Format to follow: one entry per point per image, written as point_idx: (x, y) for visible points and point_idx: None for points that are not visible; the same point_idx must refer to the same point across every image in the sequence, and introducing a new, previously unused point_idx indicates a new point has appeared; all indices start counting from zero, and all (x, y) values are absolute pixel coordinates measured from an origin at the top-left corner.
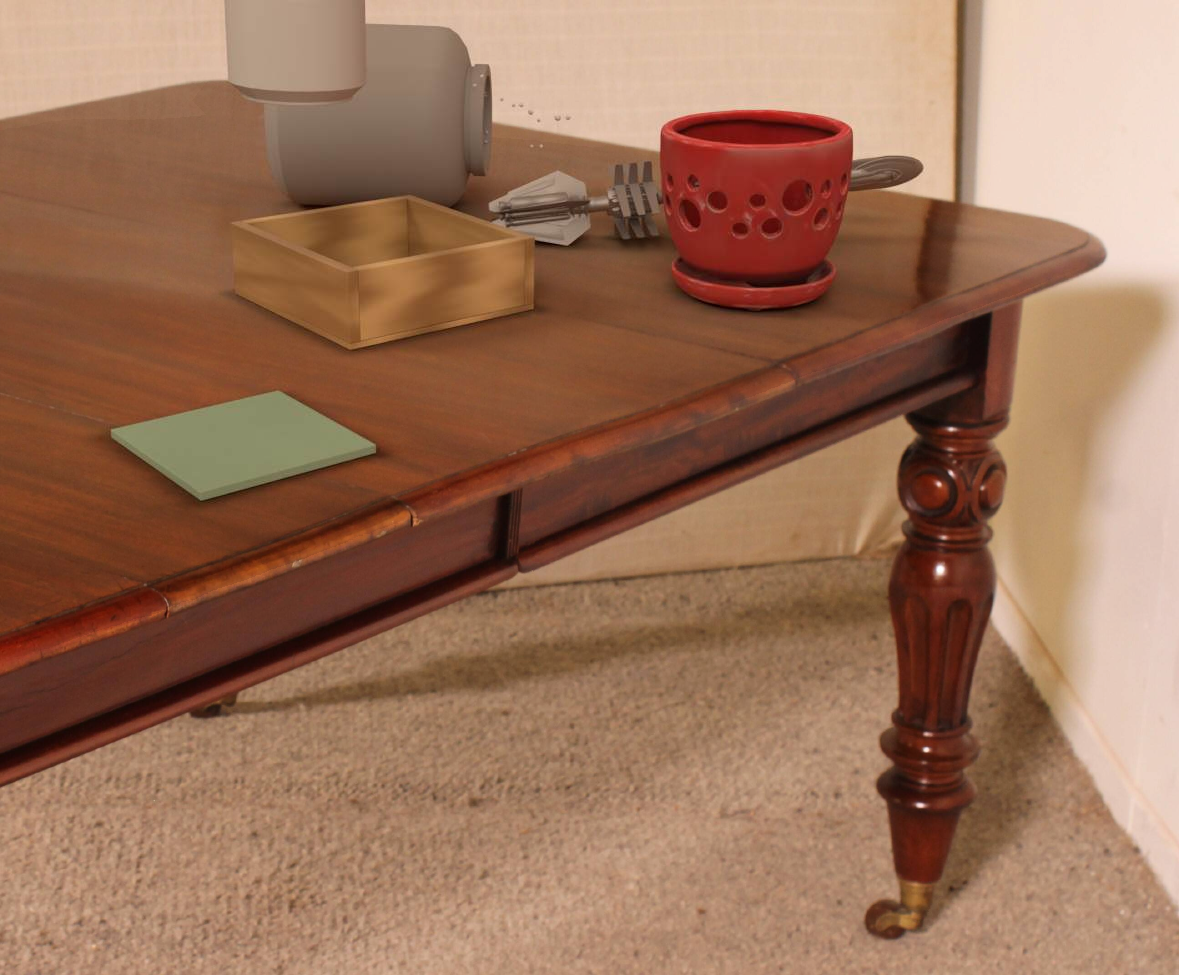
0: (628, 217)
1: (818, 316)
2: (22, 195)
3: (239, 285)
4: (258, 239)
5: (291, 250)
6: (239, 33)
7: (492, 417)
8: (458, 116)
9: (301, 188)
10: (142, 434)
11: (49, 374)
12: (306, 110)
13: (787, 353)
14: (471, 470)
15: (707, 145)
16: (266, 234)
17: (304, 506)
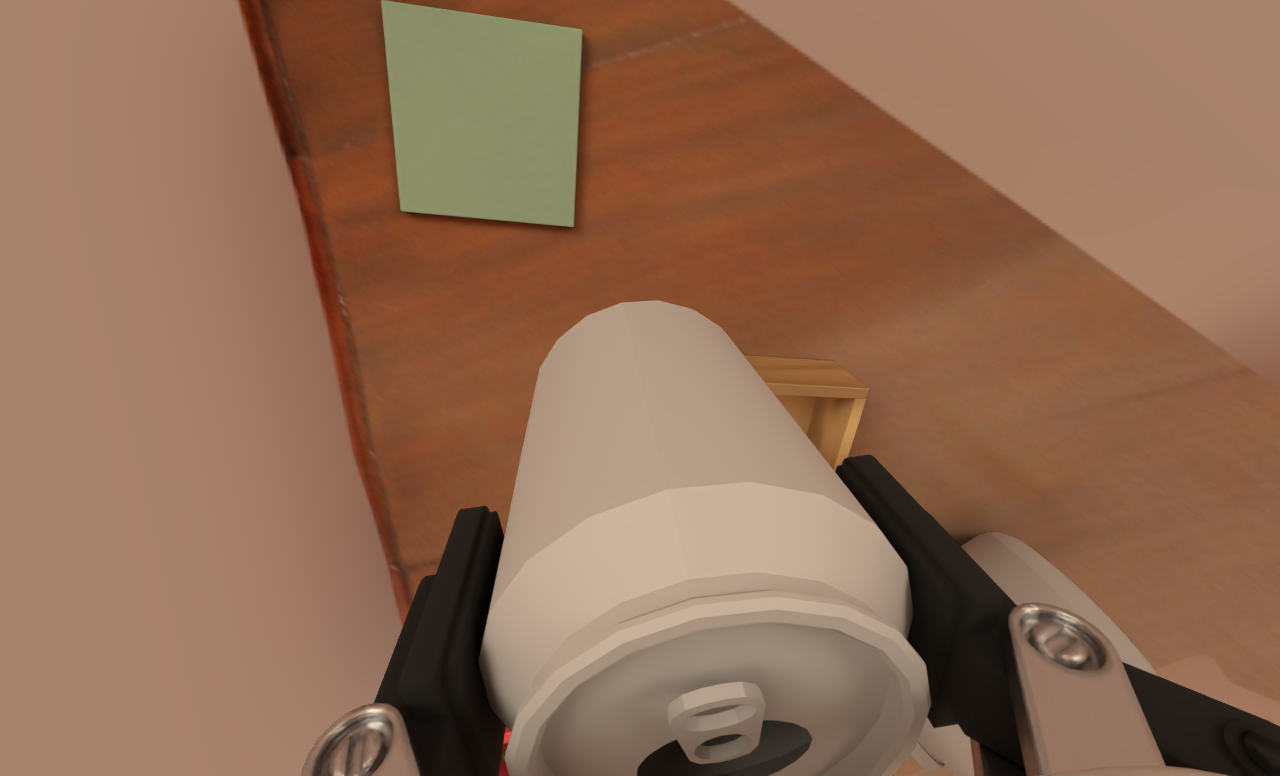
0: None
1: None
2: (1237, 376)
3: (829, 363)
4: (811, 383)
5: None
6: (650, 329)
7: (424, 339)
8: None
9: (974, 540)
10: (549, 47)
11: (777, 88)
12: (1016, 599)
13: (415, 586)
14: (325, 250)
15: (510, 732)
16: (807, 391)
17: (325, 78)
